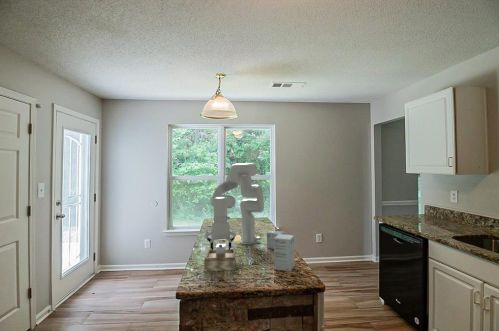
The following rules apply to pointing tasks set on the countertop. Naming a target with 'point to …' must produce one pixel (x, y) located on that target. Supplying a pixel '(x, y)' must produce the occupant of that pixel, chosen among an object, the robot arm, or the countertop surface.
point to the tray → (220, 261)
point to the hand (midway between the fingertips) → (221, 249)
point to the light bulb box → (272, 238)
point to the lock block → (220, 250)
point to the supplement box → (284, 252)
